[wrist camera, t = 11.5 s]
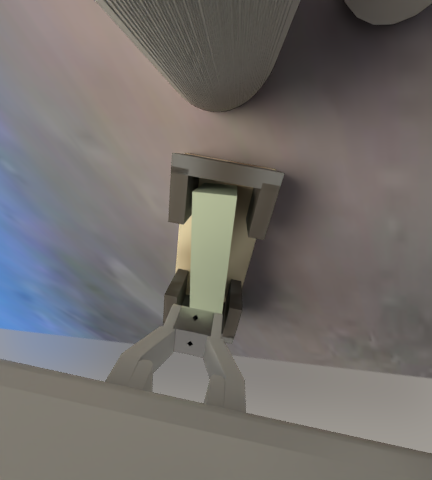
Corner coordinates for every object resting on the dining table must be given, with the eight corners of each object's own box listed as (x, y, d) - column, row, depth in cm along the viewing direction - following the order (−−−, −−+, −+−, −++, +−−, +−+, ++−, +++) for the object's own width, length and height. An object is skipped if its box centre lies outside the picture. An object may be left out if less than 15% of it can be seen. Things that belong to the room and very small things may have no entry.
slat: (237, 185, 16) (237, 196, 12) (223, 296, 22) (219, 332, 17) (204, 182, 17) (192, 191, 12) (198, 292, 22) (189, 327, 18)
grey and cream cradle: (274, 169, 16) (289, 173, 12) (235, 307, 23) (234, 344, 19) (187, 153, 16) (167, 151, 12) (175, 295, 24) (159, 329, 19)
